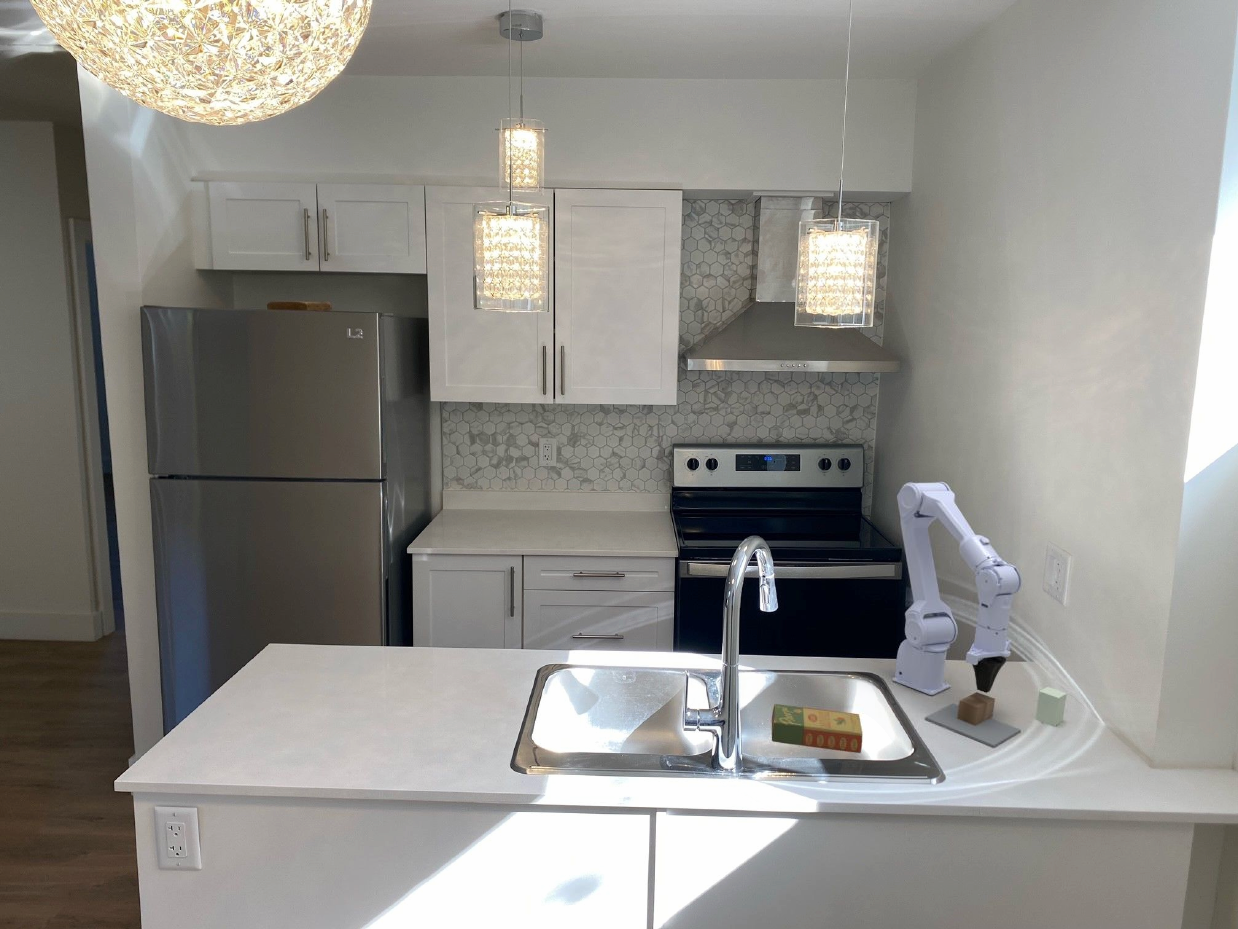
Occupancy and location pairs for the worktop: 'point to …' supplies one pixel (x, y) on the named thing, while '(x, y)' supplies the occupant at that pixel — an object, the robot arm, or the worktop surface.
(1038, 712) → the sage block
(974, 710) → the walnut block
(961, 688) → the worktop surface
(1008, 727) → the mat
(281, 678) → the worktop surface
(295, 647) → the worktop surface
